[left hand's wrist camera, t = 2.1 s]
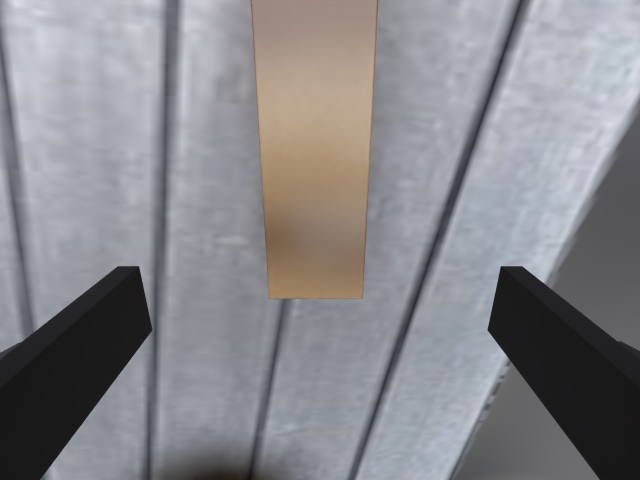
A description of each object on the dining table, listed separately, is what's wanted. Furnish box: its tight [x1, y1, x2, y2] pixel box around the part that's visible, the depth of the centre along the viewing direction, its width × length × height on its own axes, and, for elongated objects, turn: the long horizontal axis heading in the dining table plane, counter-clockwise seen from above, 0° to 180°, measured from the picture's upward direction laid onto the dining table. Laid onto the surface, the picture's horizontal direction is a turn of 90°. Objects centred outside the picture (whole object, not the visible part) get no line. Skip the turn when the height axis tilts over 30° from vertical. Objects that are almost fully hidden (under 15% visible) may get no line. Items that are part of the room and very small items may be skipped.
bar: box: [251, 0, 378, 299], centre depth 18 cm, size 28×5×8 cm, turn 0°
